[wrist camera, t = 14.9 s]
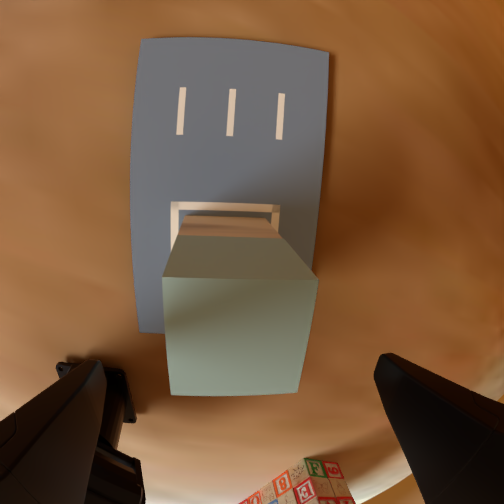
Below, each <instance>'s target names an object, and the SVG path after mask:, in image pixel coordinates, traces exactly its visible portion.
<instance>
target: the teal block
mask: <svg viewBox="0 0 504 504" xmlns="http://www.w3.org/2000/svg"><path fill="white" fill-rule="evenodd" d="M318 283H319V279H318V278H317V277H316V276H315V275H314V273H313V272H312V271H311V270H310V269H309V267H308V266H307V265H306V264H305V263H304V261H303V260H302V259H301V258H300V257H299V256H298V254H297V253H296V252H295V251H294V250H293V249H292V247H291V246H290V245H289V244H288V243H287V242H286V240H285V239H280V238H254V237H226V236H194V235H177V237H176V240H175V242H174V245H173V248H172V250H171V253H170V256H169V259H168V261H167V264H166V267H165V270H164V273H163V276H162V289H163V309H164V325H165V339H166V351H167V362H168V372H169V381H170V390H171V395H184V396H247V395H269V394H284V393H296V392H297V391H298V386H299V382H300V377H301V373H302V368H303V363H304V358H305V354H306V349H307V344H308V339H309V333H310V328H311V323H312V318H313V312H314V306H315V301H316V295H317V289H318Z"/></svg>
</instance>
